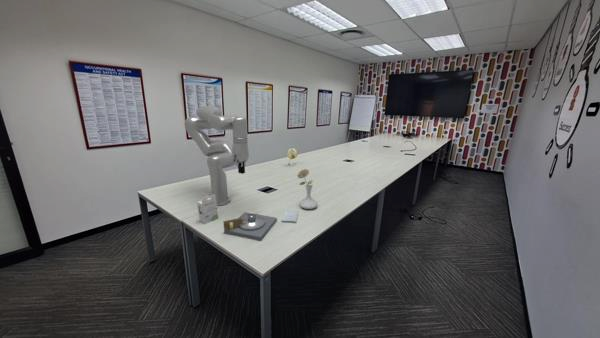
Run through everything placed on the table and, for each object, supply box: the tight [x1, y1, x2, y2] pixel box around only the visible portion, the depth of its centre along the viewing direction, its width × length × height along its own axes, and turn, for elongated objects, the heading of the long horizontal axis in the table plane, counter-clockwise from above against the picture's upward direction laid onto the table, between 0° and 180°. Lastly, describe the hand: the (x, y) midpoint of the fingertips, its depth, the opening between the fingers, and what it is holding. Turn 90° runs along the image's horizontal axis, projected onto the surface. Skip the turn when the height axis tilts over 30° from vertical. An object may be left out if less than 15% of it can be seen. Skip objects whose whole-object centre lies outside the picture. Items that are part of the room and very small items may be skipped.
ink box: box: [197, 194, 219, 224], centre depth 126 cm, size 9×5×15 cm, turn 141°
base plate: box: [223, 212, 278, 242], centre depth 121 cm, size 20×20×6 cm
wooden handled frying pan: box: [222, 213, 265, 231], centre depth 119 cm, size 21×14×4 cm, turn 118°
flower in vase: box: [297, 168, 318, 210], centre depth 143 cm, size 13×11×25 cm
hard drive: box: [281, 210, 299, 224], centre depth 133 cm, size 2×8×12 cm
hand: (241, 172), depth 130 cm, fingers closed
